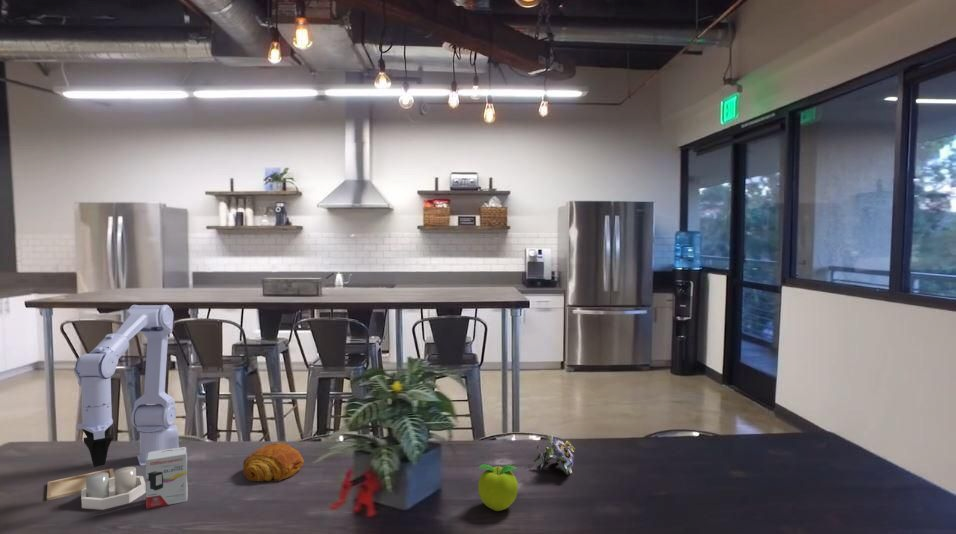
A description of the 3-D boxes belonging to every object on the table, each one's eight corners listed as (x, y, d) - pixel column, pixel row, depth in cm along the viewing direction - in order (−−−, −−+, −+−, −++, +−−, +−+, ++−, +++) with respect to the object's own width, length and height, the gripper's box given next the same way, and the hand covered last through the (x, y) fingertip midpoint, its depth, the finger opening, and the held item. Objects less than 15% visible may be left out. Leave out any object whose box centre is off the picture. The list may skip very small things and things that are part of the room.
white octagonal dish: (141, 481, 139) (141, 471, 139) (147, 499, 129) (147, 489, 129) (80, 494, 131) (80, 484, 131) (82, 516, 121) (82, 504, 121)
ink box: (145, 509, 125) (144, 459, 124) (147, 500, 129) (145, 452, 128) (187, 501, 128) (186, 453, 128) (187, 493, 133) (186, 446, 132)
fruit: (478, 498, 131) (478, 457, 130) (516, 498, 131) (516, 458, 130) (476, 517, 122) (477, 474, 121) (518, 518, 122) (518, 475, 121)
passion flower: (568, 493, 145) (577, 469, 138) (528, 483, 146) (535, 459, 139) (571, 456, 154) (579, 432, 147) (533, 447, 155) (540, 423, 148)
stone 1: (109, 492, 131) (108, 471, 131) (109, 499, 128) (108, 477, 127) (87, 497, 129) (86, 475, 129) (86, 504, 125) (85, 482, 125)
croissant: (233, 486, 142) (229, 458, 140) (276, 456, 156) (273, 430, 154) (276, 495, 136) (271, 466, 134) (316, 463, 150) (313, 436, 149)
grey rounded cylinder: (136, 486, 135) (136, 465, 134) (136, 493, 131) (135, 471, 131) (115, 490, 132) (114, 469, 132) (114, 498, 129) (114, 475, 128)
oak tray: (112, 471, 144) (112, 468, 144) (115, 486, 136) (115, 482, 136) (47, 485, 136) (47, 481, 136) (46, 502, 128) (46, 497, 128)
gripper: (75, 399, 131) (77, 454, 131) (76, 415, 119) (78, 475, 120) (110, 394, 135) (111, 447, 136) (114, 409, 123) (116, 467, 124)
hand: (98, 460), depth 128 cm, fingers open, 7 cm apart
